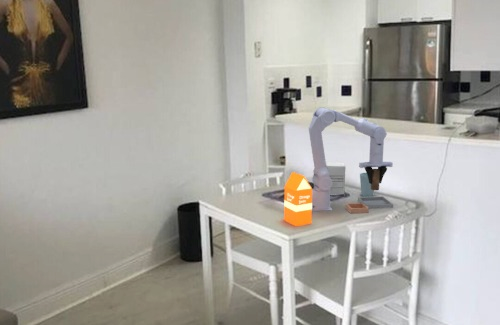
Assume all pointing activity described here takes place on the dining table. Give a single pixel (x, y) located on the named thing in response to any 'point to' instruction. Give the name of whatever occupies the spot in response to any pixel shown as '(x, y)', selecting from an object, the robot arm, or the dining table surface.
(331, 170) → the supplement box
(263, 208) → the dining table surface
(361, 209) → the orange square open box
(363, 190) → the cup
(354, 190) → the dining table surface
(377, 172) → the peg
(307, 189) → the orange juice
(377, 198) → the tray
